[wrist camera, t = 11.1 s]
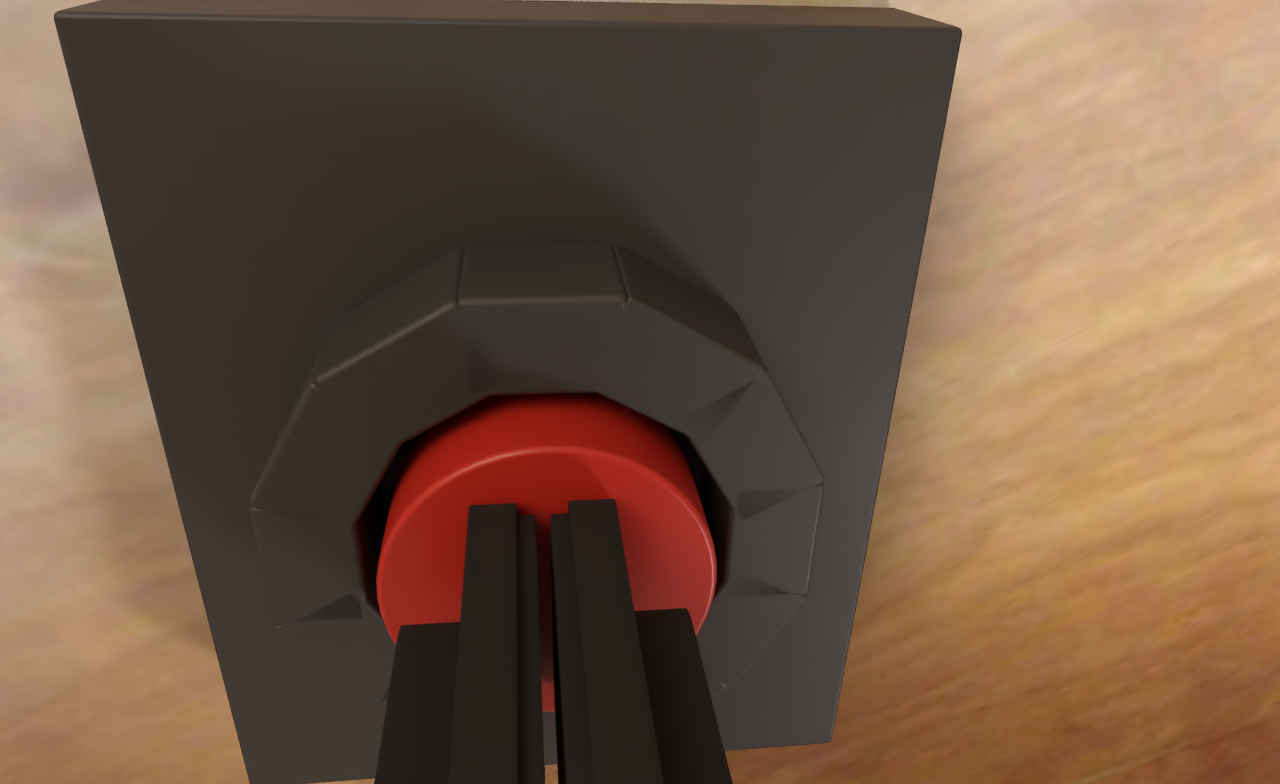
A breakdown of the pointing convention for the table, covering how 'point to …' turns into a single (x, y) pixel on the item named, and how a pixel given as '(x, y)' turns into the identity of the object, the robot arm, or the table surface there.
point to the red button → (544, 505)
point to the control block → (511, 298)
